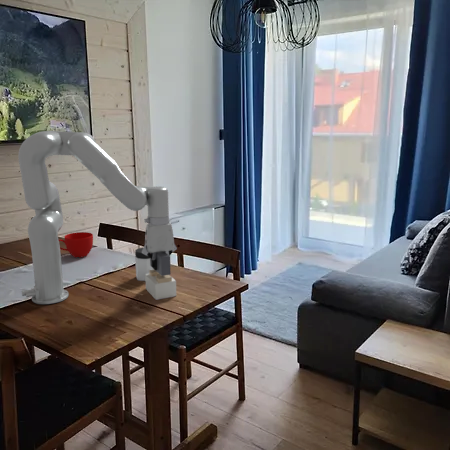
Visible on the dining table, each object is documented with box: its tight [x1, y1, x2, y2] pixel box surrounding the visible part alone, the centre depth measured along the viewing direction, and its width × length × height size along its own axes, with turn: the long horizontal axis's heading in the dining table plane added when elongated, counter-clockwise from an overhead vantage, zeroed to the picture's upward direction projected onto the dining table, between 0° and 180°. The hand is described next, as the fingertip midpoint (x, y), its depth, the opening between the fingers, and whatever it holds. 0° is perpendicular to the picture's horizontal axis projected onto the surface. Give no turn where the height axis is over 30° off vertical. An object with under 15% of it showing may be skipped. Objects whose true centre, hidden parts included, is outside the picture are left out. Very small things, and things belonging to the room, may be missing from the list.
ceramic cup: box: [58, 231, 94, 258], centre depth 213 cm, size 13×17×10 cm
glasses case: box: [150, 252, 172, 276], centre depth 167 cm, size 3×13×7 cm, turn 27°
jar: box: [134, 247, 154, 282], centre depth 184 cm, size 9×8×12 cm
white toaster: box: [145, 270, 177, 301], centre depth 169 cm, size 8×12×8 cm, turn 27°
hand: (160, 267), depth 167 cm, fingers closed on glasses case, 3 cm apart
